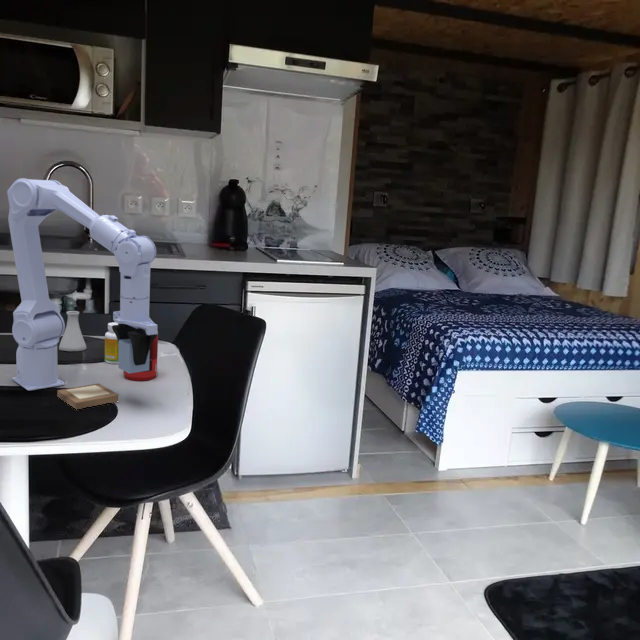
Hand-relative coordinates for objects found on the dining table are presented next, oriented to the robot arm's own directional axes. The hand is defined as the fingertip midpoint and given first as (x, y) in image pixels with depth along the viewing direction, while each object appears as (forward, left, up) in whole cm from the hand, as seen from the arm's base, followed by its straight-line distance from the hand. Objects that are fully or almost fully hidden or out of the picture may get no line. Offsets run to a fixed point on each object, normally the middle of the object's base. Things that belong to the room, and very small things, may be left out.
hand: (133, 361), depth 131 cm
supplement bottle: (-29, +11, -9) cm, 32 cm away
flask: (-45, +7, -9) cm, 46 cm away
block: (0, 0, -2) cm, 2 cm away
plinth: (-6, -7, -9) cm, 13 cm away
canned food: (-15, +10, -9) cm, 20 cm away
